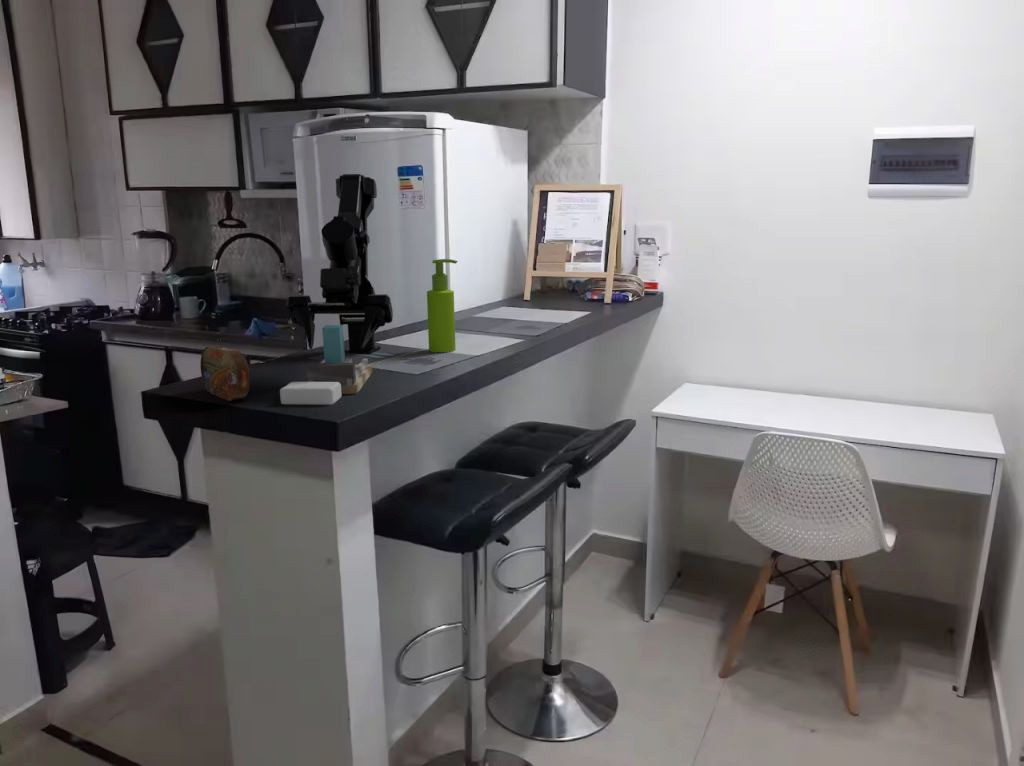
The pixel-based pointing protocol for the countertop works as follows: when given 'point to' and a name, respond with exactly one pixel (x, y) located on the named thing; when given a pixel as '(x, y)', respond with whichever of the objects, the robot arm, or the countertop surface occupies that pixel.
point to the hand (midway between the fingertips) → (336, 347)
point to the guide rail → (340, 374)
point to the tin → (225, 373)
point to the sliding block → (334, 344)
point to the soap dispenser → (441, 311)
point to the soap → (311, 393)
